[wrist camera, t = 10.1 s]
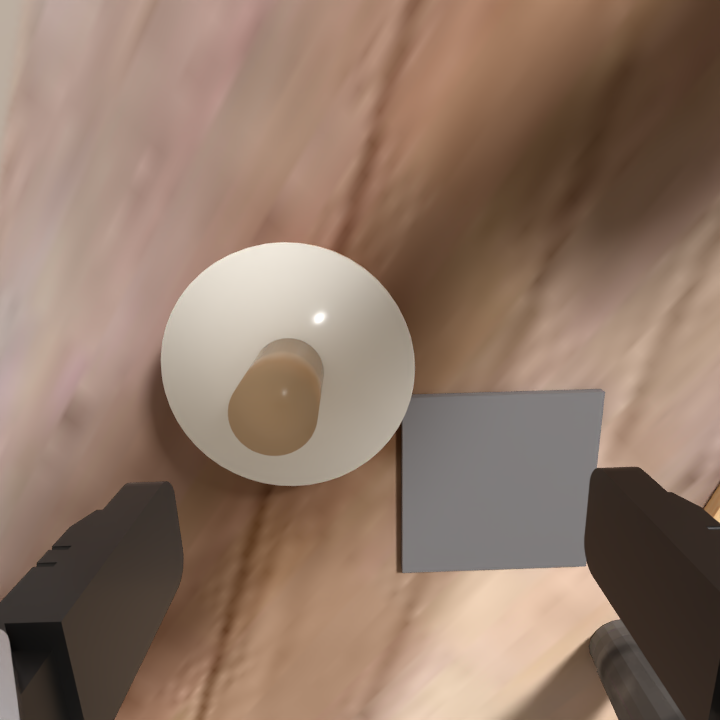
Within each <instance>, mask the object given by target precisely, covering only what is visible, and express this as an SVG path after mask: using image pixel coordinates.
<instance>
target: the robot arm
mask: <svg viewBox="0 0 720 720" xmlns="http://www.w3.org/2000/svg"><path fill="white" fill-rule="evenodd" d="M584 550H585V556H586V561H587V564H588V567H589V570H590V572H591V574H592V576H593V577H594V579H595V581H596V582H597V584H598V585H599V587H600V588H601V590H602V591H603V593H604V594H605V596H606V597H607V599H608V601H609V602H610V604H611V605H612V607H613V608H614V610H615V611H616V613H617V614H618V616H619V617H620V619H621V621H622V622H623V624H624V625H625V627H626V628H627V630H628V631H629V633H630V634H631V636H632V637H633V639H634V641H635V642H636V644H637V645H638V647H639V648H640V650H641V651H642V653H643V654H644V656H645V658H646V659H647V661H648V662H649V664H650V665H651V667H652V668H653V670H654V671H655V673H656V674H657V676H658V678H659V679H660V681H661V682H662V684H663V685H664V687H665V688H666V690H667V691H668V693H669V694H670V696H671V698H672V699H673V701H674V702H675V704H676V705H677V707H678V708H679V710H680V711H681V713H682V714H683V716H684V718H685V719H686V720H720V523H719V522H718V521H717V520H716V519H714V518H713V517H712V516H711V515H710V514H708V513H707V512H706V511H705V510H704V509H703V508H701V507H700V506H698V505H696V504H694V503H692V502H690V501H688V500H686V499H684V498H682V497H680V496H678V495H676V494H674V493H672V492H667V491H666V490H665V489H663V488H662V487H661V486H660V485H659V484H658V483H657V482H656V481H655V480H653V479H652V478H651V477H650V476H649V475H648V474H647V473H646V472H644V471H643V470H642V469H641V468H639V467H614V468H596V469H594V470H593V472H592V474H591V477H590V483H589V493H588V504H587V514H586V525H585V535H584ZM182 572H183V547H182V541H181V534H180V527H179V521H178V514H177V507H176V500H175V494H174V490H173V487H172V485H171V484H170V483H169V482H167V481H166V482H136V483H127V484H125V485H124V486H123V487H122V488H121V490H120V491H119V492H118V493H117V494H116V495H115V496H114V498H113V499H112V500H111V501H110V502H109V503H108V505H107V506H106V507H105V508H104V509H103V510H96V511H94V512H93V513H91V514H90V515H88V516H87V517H85V518H83V519H82V520H80V521H79V522H77V523H76V524H74V525H72V526H71V527H70V528H69V529H68V530H67V531H66V532H65V533H64V534H63V535H62V536H61V537H60V538H59V540H58V541H57V542H56V543H55V544H54V545H53V546H52V550H48V551H47V552H46V554H45V555H44V556H43V557H42V558H41V559H40V560H39V561H38V562H37V566H36V567H33V568H32V569H31V570H30V571H29V572H28V573H27V574H26V575H25V576H24V577H23V578H22V579H21V581H20V582H19V583H18V584H17V585H16V586H15V587H14V588H13V589H12V590H11V591H10V592H9V593H8V595H7V596H6V597H5V598H4V599H3V600H2V601H1V602H0V720H114V719H115V717H116V715H117V713H118V711H119V709H120V707H121V705H122V703H123V701H124V698H125V696H126V694H127V692H128V690H129V688H130V686H131V684H132V682H133V680H134V678H135V676H136V674H137V672H138V670H139V668H140V665H141V663H142V661H143V659H144V657H145V655H146V653H147V651H148V649H149V647H150V645H151V643H152V641H153V639H154V637H155V635H156V633H157V630H158V628H159V626H160V624H161V622H162V620H163V618H164V616H165V614H166V612H167V610H168V608H169V606H170V604H171V602H172V600H173V597H174V595H175V593H176V591H177V589H178V587H179V584H180V581H181V577H182Z"/></svg>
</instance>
